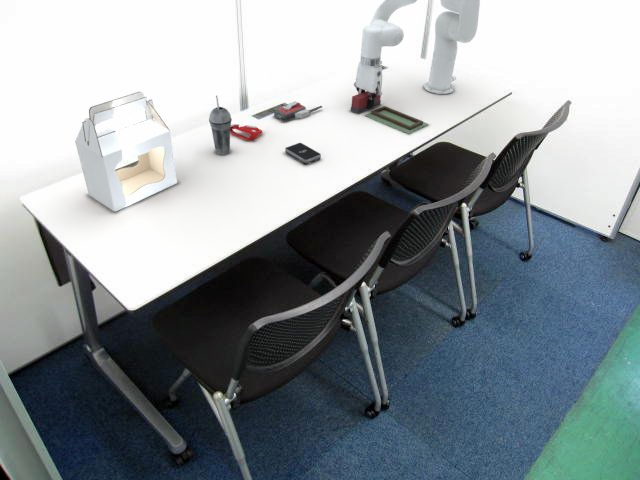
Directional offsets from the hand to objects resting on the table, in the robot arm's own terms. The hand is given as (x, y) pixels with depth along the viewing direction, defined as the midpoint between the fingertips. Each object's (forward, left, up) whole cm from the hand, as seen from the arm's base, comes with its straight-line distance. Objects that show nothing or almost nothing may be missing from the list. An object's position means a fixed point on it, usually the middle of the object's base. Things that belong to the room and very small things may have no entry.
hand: (365, 106), depth 216 cm
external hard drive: (+47, +13, -1) cm, 49 cm away
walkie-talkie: (+25, -13, -1) cm, 28 cm away
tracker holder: (+51, -12, -1) cm, 52 cm away
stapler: (0, 0, -1) cm, 1 cm away
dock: (0, +16, -1) cm, 16 cm away
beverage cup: (+65, -7, -1) cm, 65 cm away
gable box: (+99, -5, -1) cm, 99 cm away
